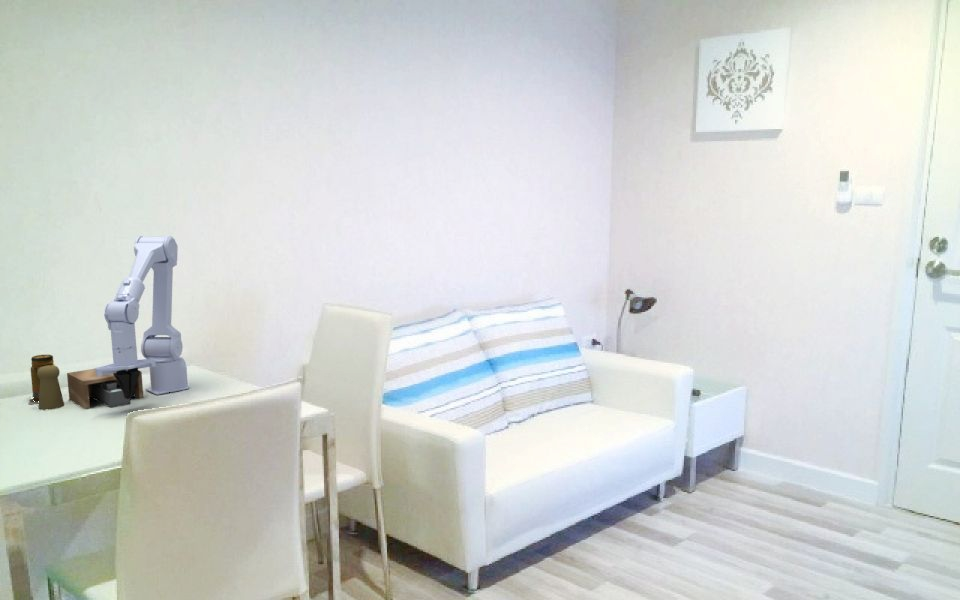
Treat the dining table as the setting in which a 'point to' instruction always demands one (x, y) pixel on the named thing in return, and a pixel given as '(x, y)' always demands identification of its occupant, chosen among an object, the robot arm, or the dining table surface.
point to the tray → (109, 394)
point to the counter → (83, 379)
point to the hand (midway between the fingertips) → (128, 397)
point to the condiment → (36, 364)
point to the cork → (49, 388)
